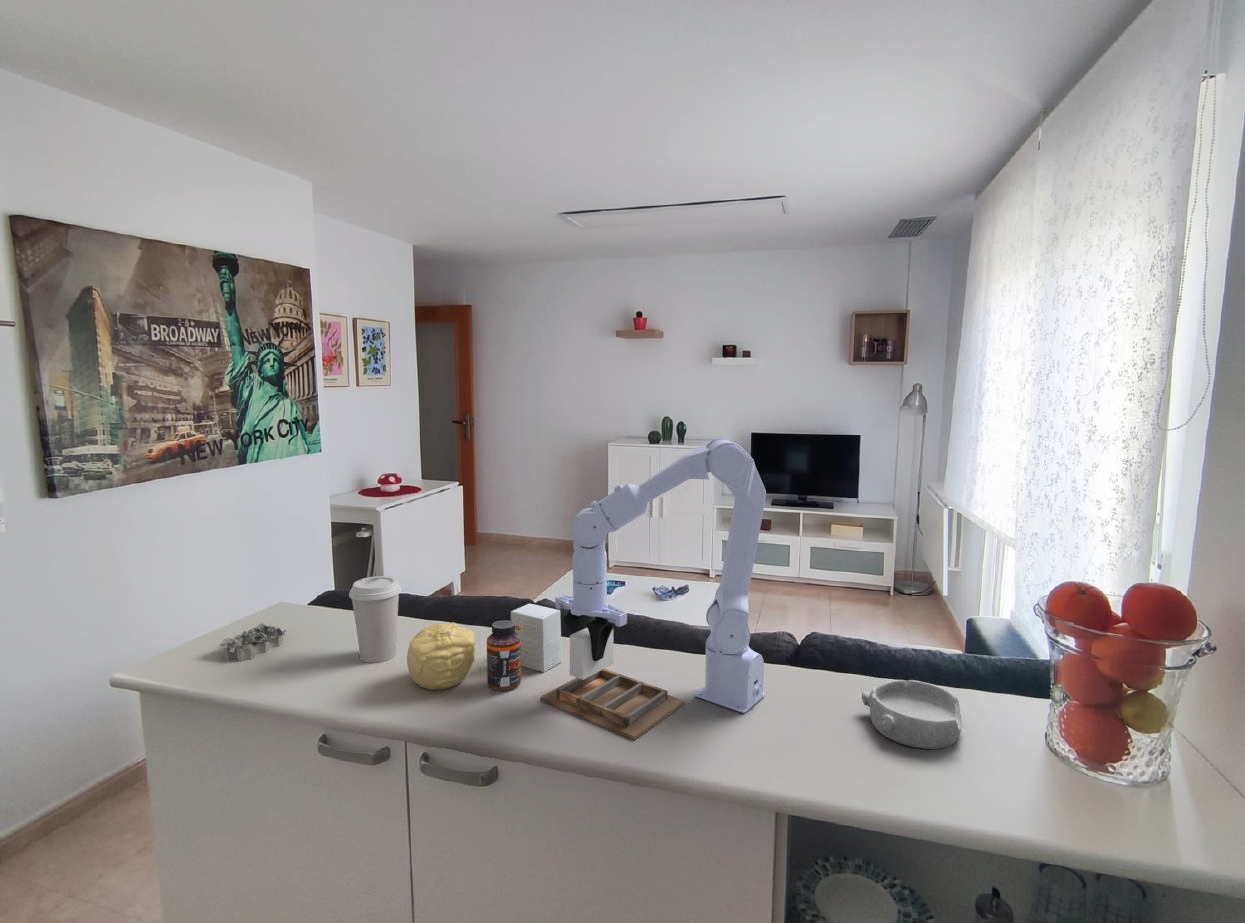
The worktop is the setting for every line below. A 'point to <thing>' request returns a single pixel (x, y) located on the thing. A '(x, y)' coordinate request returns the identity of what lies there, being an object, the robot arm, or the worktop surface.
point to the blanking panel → (587, 655)
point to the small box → (538, 636)
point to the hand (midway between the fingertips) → (590, 656)
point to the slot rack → (615, 702)
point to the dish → (915, 713)
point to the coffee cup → (376, 617)
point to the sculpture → (441, 656)
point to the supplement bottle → (503, 657)
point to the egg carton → (252, 642)
